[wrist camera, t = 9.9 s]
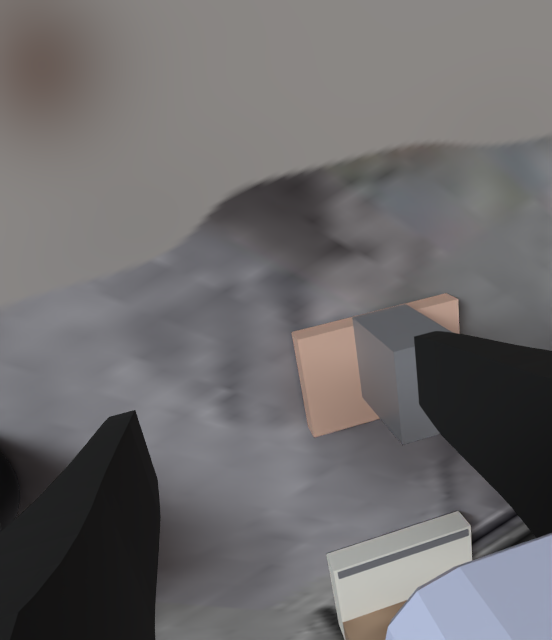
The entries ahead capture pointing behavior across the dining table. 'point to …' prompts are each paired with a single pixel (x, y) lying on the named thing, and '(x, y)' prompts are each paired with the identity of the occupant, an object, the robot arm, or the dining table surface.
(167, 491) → the dining table surface
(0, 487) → the supplement bottle
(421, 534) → the board
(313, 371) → the grey and peach block
